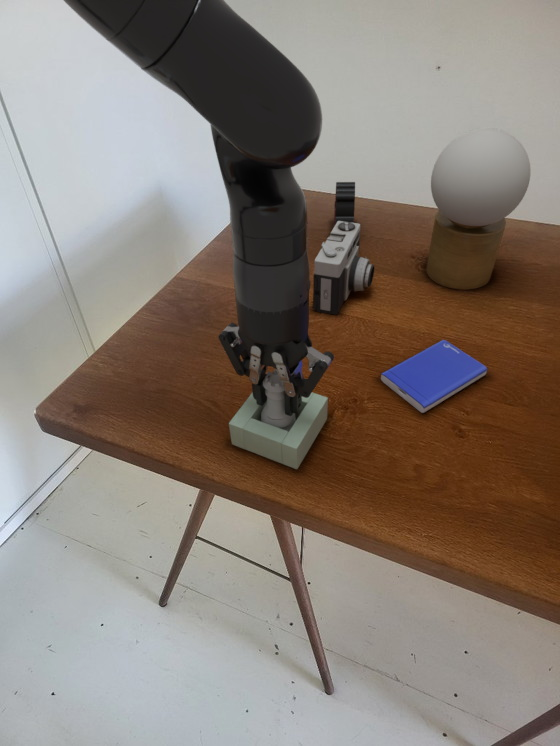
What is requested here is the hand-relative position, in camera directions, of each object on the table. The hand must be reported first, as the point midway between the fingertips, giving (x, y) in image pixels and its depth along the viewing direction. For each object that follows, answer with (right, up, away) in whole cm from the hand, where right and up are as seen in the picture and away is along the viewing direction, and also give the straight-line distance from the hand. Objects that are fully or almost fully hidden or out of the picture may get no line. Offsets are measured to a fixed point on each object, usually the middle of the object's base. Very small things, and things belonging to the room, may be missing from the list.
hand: (277, 405), depth 64 cm
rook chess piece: (0, -2, +2) cm, 3 cm away
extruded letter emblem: (+13, +31, +40) cm, 53 cm away
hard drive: (+22, +3, +10) cm, 24 cm away
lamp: (+32, +21, +28) cm, 47 cm away
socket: (0, -4, +3) cm, 5 cm away
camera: (+12, +18, +26) cm, 34 cm away
